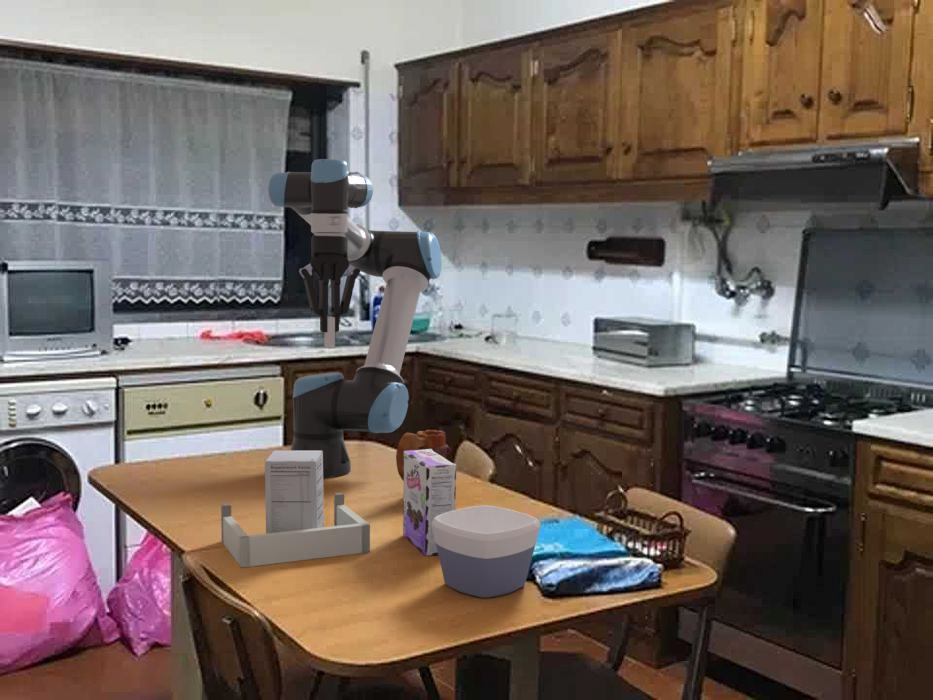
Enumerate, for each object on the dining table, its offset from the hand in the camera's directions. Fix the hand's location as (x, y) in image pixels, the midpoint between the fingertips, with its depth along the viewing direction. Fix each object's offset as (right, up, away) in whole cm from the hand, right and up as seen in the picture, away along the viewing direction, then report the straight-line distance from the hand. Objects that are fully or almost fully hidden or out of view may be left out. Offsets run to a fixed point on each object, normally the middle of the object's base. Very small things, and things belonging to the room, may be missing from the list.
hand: (329, 347), depth 219 cm
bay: (-3, -36, -30) cm, 47 cm away
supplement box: (-2, -36, -30) cm, 47 cm away
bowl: (+32, -39, -49) cm, 70 cm away
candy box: (+22, -36, -28) cm, 51 cm away
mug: (+19, -33, +4) cm, 38 cm away
